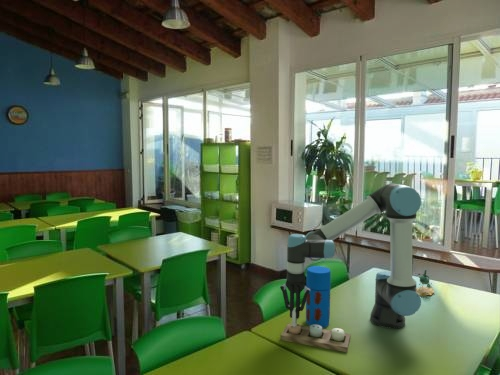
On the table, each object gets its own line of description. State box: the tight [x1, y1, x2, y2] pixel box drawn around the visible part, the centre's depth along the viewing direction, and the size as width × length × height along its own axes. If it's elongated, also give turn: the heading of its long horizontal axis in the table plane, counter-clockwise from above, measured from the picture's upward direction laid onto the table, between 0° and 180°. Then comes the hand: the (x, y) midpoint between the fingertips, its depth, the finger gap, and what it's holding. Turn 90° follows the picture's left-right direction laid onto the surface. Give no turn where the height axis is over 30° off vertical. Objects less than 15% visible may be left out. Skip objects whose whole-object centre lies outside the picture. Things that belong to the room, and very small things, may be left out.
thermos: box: [305, 265, 332, 329], centre depth 170 cm, size 11×11×25 cm
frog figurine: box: [416, 268, 435, 297], centre depth 208 cm, size 10×18×15 cm, turn 121°
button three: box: [289, 323, 301, 335], centre depth 158 cm, size 5×5×3 cm
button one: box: [331, 327, 345, 342], centre depth 152 cm, size 5×5×3 cm
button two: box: [309, 324, 323, 338], centre depth 155 cm, size 5×5×3 cm
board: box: [280, 323, 351, 353], centre depth 155 cm, size 27×12×2 cm, turn 69°
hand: (294, 325), depth 158 cm, fingers closed
